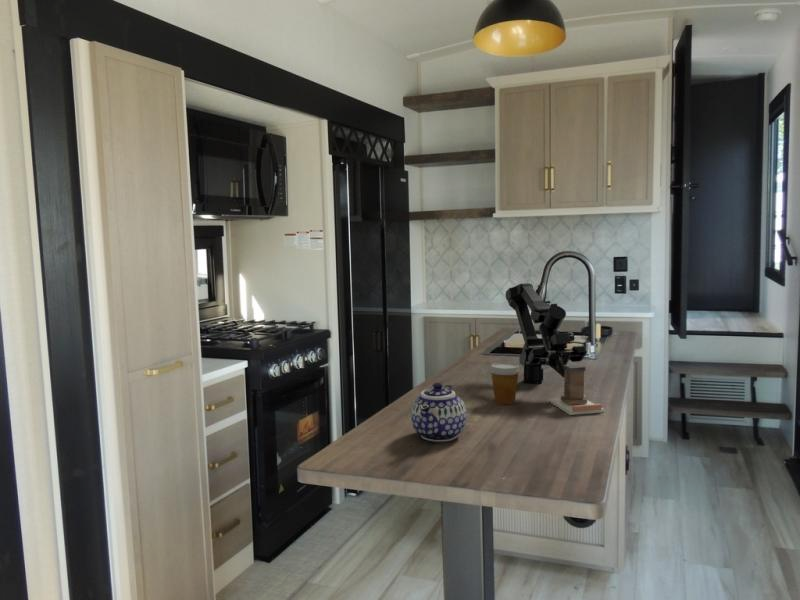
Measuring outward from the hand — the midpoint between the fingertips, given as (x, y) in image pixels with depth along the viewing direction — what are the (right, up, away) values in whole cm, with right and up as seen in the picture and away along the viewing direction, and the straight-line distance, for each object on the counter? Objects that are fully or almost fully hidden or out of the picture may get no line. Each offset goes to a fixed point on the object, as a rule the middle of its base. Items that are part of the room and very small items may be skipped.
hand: (564, 376), depth 215 cm
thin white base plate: (+2, -9, -7) cm, 11 cm away
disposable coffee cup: (-19, -8, 0) cm, 21 cm away
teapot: (-43, -13, -33) cm, 55 cm away
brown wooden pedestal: (+1, -7, -6) cm, 9 cm away
